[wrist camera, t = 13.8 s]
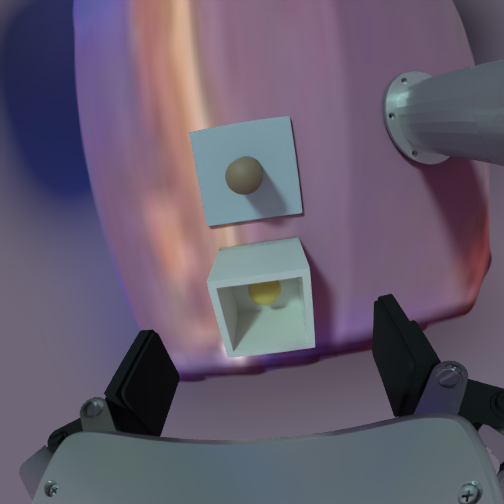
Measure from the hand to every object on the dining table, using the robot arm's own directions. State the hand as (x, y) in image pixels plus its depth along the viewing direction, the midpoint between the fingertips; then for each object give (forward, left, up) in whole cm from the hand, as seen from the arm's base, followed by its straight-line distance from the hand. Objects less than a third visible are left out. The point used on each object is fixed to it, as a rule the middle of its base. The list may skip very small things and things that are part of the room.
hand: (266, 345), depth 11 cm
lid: (+1, -5, -25) cm, 25 cm away
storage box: (+1, +9, -24) cm, 26 cm away
